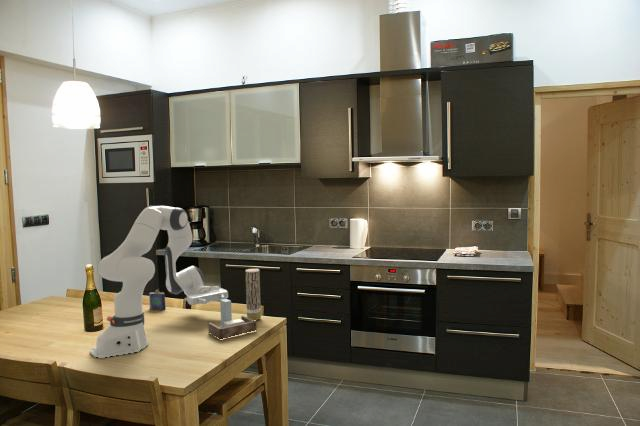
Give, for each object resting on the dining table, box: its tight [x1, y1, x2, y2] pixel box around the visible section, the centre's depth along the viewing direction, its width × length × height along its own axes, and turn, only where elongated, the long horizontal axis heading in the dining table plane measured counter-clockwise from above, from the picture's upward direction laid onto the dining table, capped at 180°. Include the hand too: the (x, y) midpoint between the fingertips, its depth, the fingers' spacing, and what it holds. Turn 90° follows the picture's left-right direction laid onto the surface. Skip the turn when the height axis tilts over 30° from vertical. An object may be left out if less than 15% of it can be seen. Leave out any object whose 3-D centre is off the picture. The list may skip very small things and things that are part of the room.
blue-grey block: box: [219, 298, 233, 328], centre depth 232 cm, size 3×5×14 cm, turn 37°
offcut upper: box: [224, 318, 244, 328], centre depth 226 cm, size 8×4×3 cm, turn 126°
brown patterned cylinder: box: [245, 268, 262, 321], centre depth 247 cm, size 7×7×25 cm
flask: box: [148, 289, 166, 311], centre depth 271 cm, size 9×3×11 cm, turn 76°
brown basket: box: [207, 315, 257, 340], centre depth 227 cm, size 18×12×5 cm, turn 127°
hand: (214, 300), depth 241 cm, fingers open, 8 cm apart
